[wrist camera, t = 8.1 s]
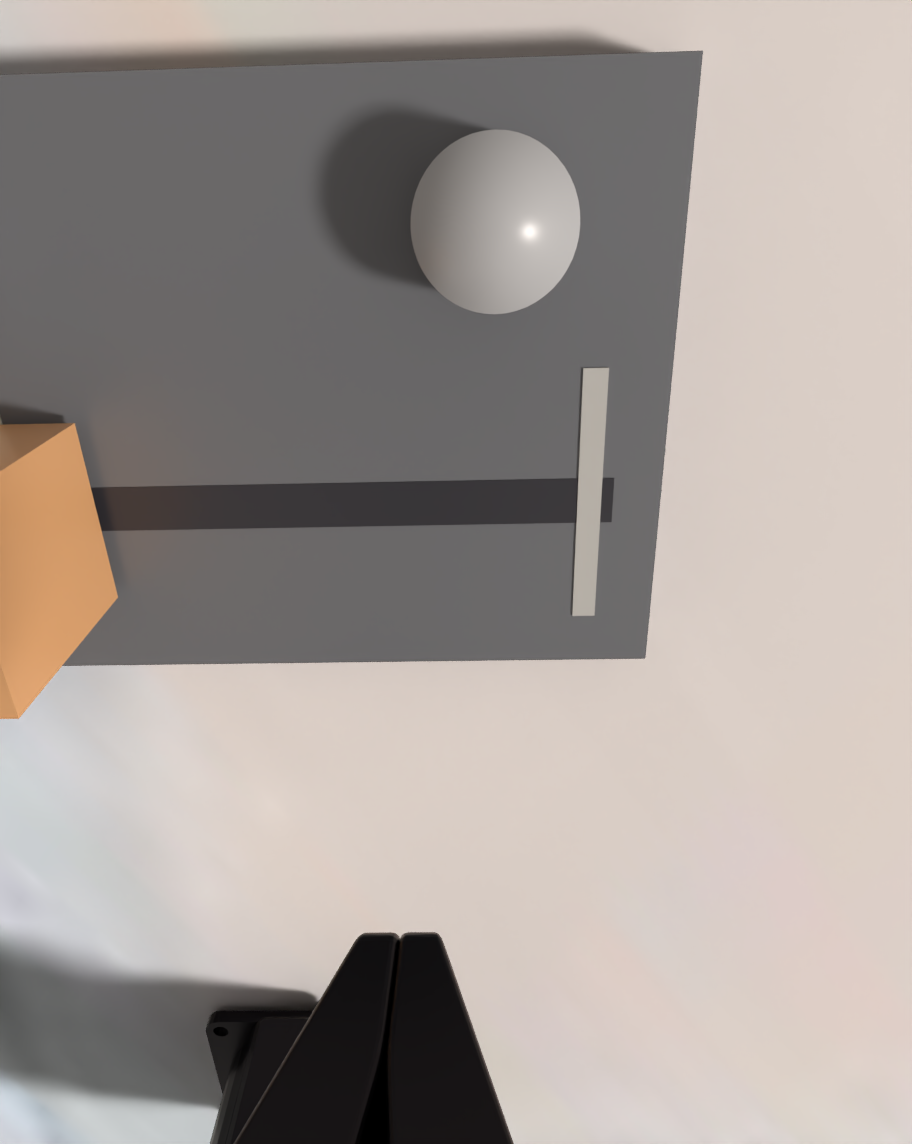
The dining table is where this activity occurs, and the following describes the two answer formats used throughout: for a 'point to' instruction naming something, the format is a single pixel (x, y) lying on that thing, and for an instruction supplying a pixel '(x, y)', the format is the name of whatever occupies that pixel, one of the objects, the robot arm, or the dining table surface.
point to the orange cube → (46, 558)
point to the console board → (356, 347)
